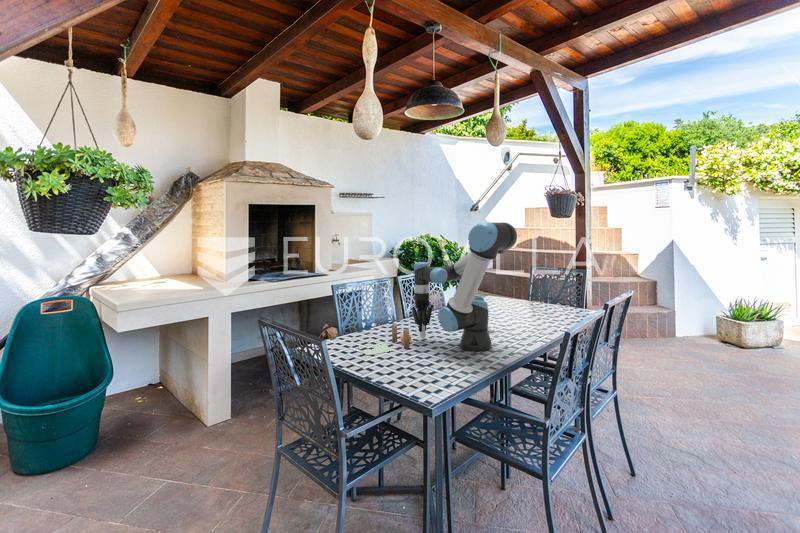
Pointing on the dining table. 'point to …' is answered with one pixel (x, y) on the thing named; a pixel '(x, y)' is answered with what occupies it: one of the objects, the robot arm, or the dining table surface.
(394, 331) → the post
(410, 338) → the ball
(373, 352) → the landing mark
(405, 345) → the post
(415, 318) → the robot arm
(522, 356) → the dining table surface
